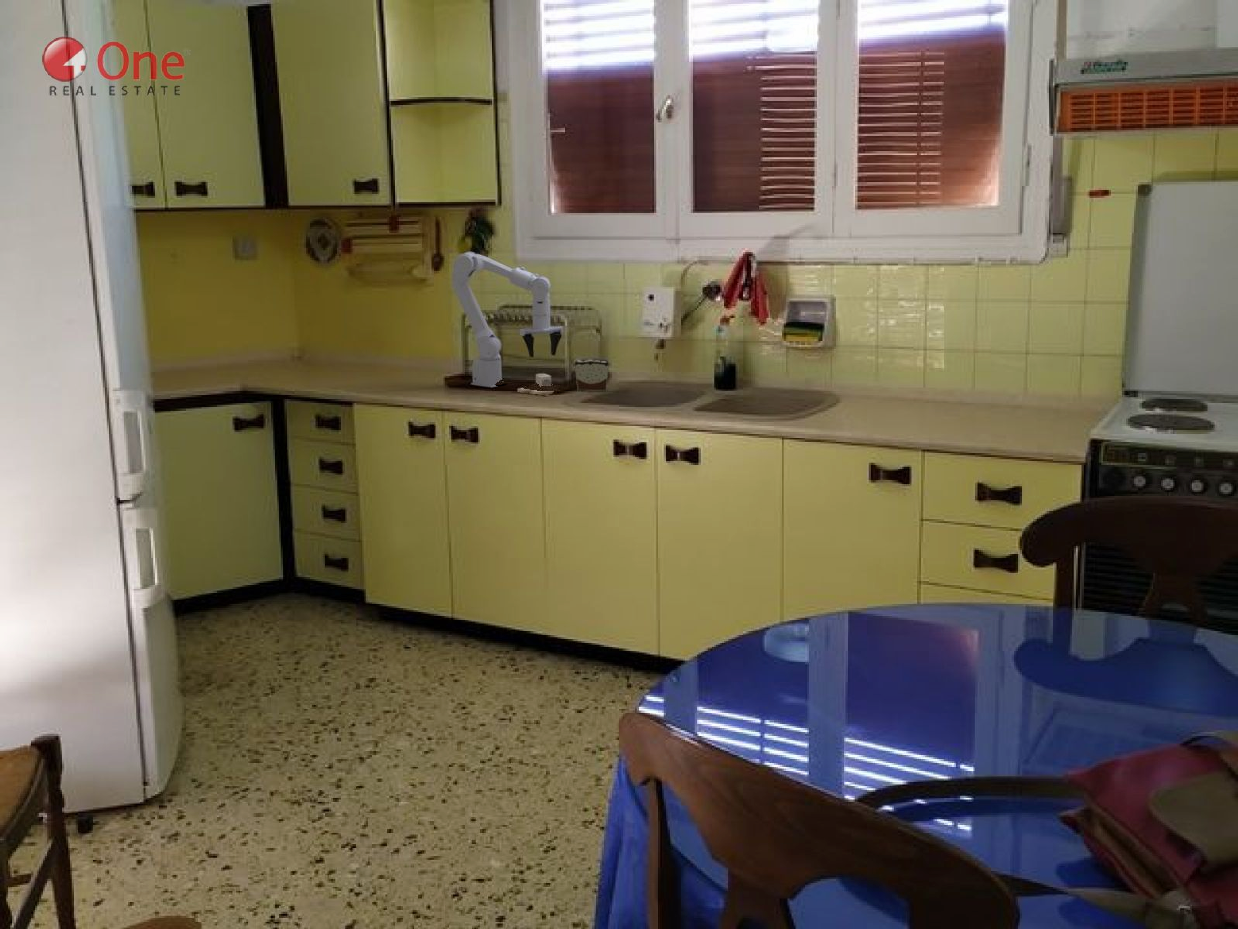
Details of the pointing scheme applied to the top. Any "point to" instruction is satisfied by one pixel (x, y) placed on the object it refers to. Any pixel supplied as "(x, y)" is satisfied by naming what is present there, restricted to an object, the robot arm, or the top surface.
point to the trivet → (534, 391)
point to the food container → (591, 373)
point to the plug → (543, 380)
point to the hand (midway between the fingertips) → (542, 355)
